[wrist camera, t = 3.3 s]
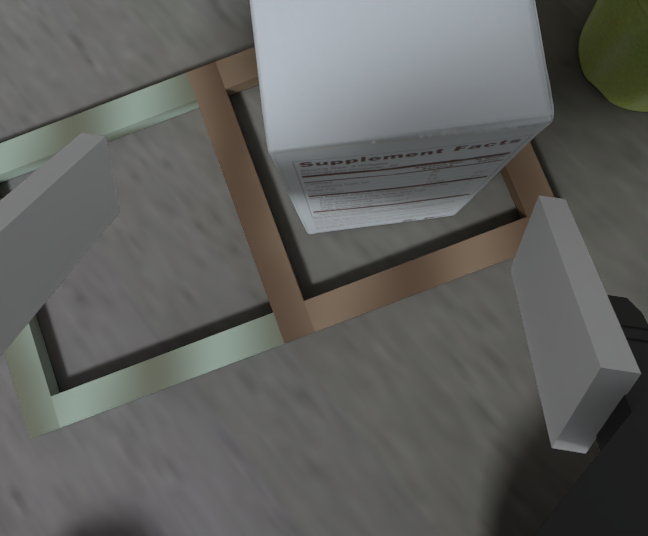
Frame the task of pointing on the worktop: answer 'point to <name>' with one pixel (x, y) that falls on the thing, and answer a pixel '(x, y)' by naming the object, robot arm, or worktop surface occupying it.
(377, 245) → the worktop surface
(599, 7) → the plant pot
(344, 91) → the supplement box
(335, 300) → the metal double frame
